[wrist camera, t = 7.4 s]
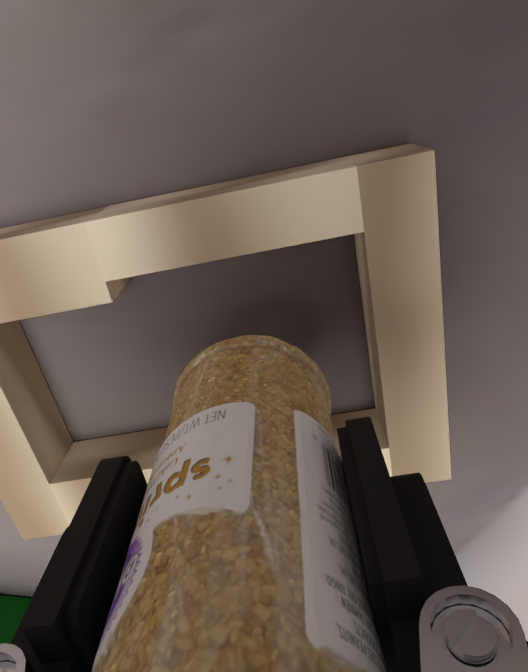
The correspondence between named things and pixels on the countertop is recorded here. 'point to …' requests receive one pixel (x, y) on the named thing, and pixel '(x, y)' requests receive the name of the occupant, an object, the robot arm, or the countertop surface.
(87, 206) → the countertop surface
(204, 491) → the sprinkles bottle
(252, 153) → the countertop surface
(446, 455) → the wooden frame
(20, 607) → the milk carton
